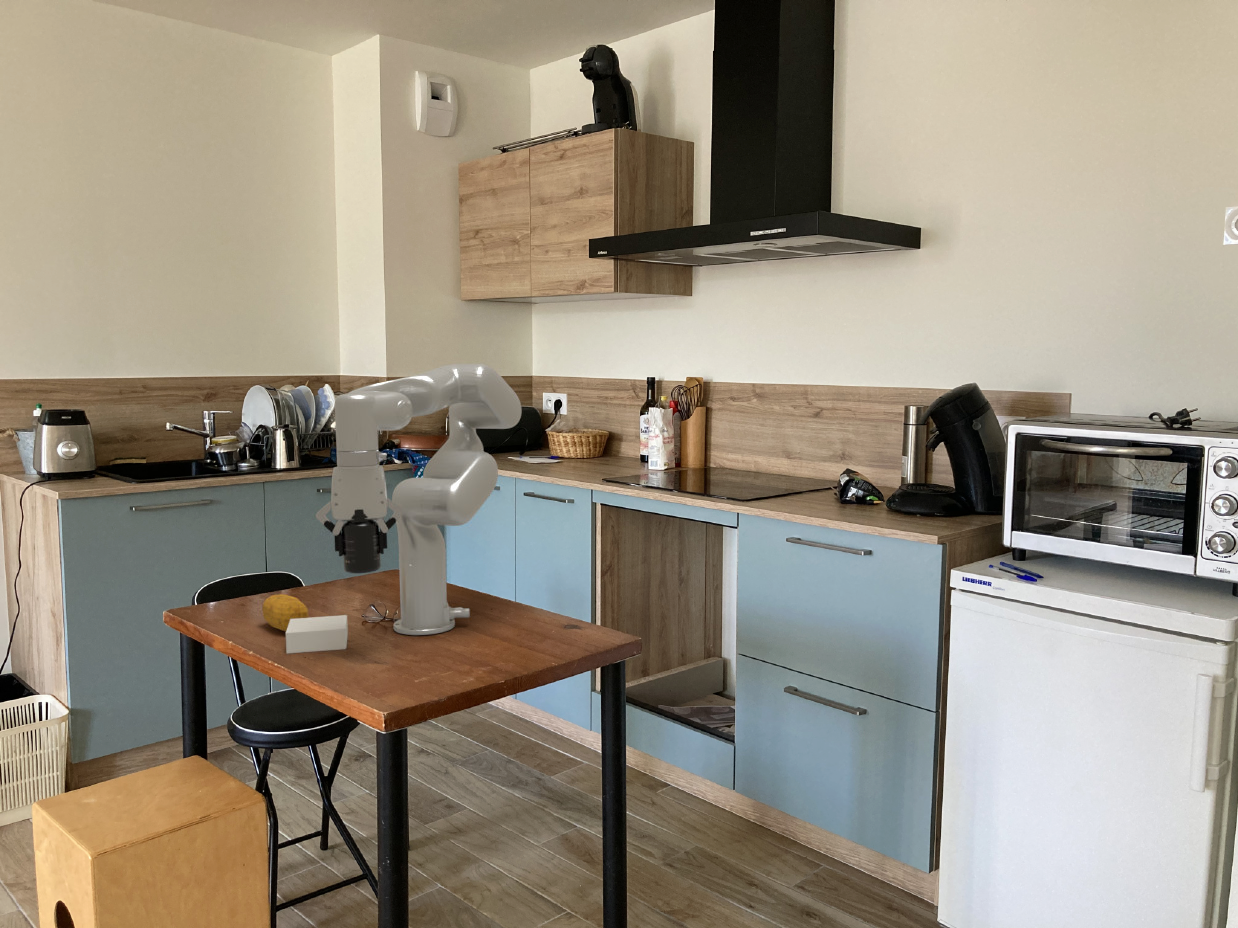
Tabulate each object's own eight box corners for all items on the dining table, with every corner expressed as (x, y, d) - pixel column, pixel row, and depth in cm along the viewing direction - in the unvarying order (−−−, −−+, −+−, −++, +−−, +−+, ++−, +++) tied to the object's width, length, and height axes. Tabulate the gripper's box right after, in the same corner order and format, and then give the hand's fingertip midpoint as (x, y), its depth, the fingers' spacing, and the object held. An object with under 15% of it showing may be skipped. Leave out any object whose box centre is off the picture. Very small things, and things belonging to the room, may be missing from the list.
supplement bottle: (366, 564, 185) (364, 503, 184) (388, 569, 181) (386, 506, 180) (335, 570, 180) (333, 507, 179) (357, 575, 175) (355, 511, 174)
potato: (291, 619, 208) (290, 588, 207) (316, 633, 196) (315, 600, 196) (258, 625, 203) (256, 593, 203) (281, 640, 192) (279, 605, 191)
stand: (347, 634, 196) (347, 614, 195) (346, 648, 185) (345, 628, 185) (291, 638, 193) (290, 618, 193) (286, 653, 182) (285, 633, 182)
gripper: (404, 456, 184) (407, 547, 186) (310, 459, 180) (314, 552, 181) (406, 460, 177) (409, 554, 178) (307, 463, 172) (312, 560, 174)
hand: (361, 553), depth 180 cm, fingers closed on supplement bottle, 6 cm apart
